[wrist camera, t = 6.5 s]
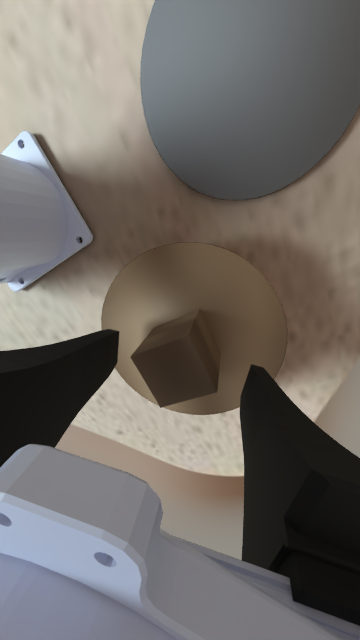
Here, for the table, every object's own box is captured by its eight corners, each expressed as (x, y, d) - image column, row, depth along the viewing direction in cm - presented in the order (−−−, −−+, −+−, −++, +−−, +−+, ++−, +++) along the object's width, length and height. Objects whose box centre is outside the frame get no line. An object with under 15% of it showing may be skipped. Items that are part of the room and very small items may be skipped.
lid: (156, 420, 17) (134, 475, 13) (77, 291, 15) (21, 312, 11) (310, 382, 14) (341, 442, 10) (240, 201, 11) (245, 185, 7)
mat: (199, 235, 16) (198, 236, 15) (105, 40, 13) (101, 35, 13) (406, 117, 12) (411, 114, 11) (331, -201, 9) (335, -219, 9)
